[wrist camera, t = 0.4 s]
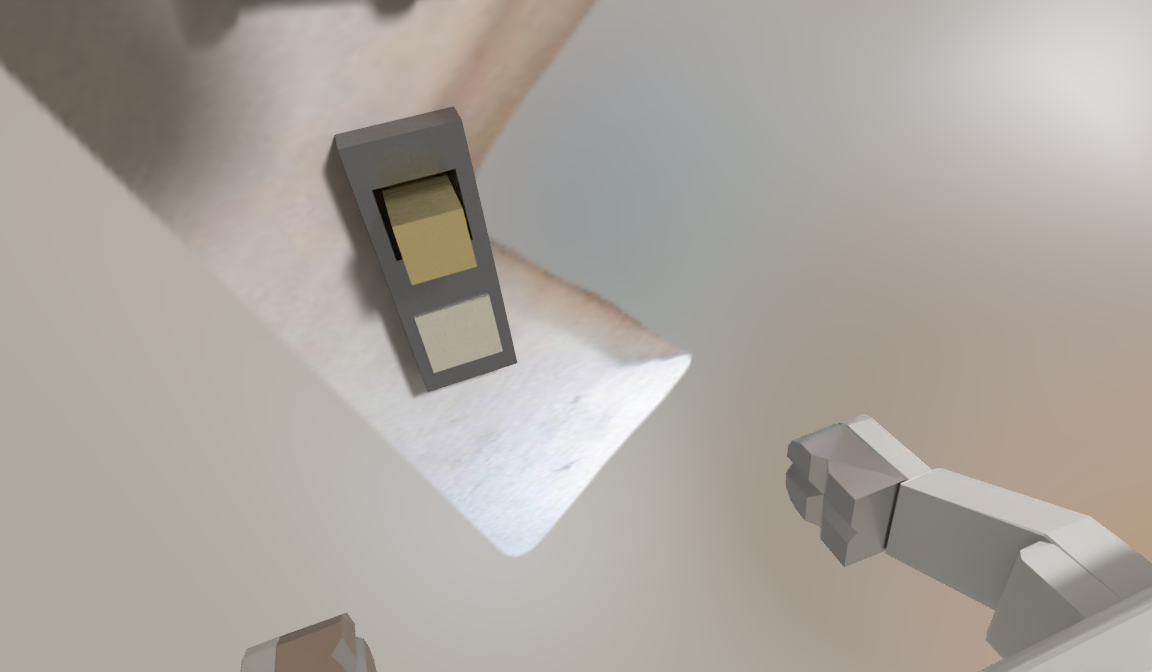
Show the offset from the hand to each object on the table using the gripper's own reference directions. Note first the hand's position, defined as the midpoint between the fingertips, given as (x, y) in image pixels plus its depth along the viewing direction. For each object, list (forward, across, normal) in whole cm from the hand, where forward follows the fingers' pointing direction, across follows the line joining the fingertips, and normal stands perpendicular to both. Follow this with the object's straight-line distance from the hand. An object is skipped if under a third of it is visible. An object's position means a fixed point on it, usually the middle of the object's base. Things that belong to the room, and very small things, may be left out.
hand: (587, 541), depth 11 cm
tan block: (+39, 0, +8) cm, 39 cm away
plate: (+39, 0, +12) cm, 41 cm away
